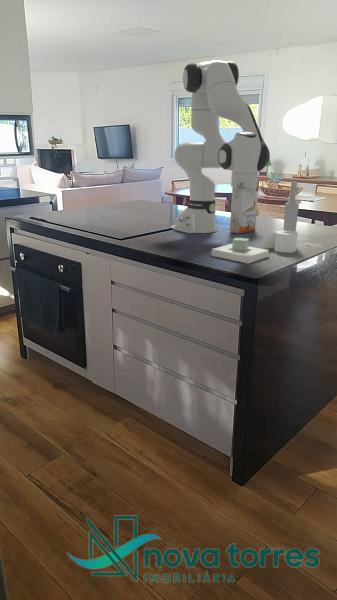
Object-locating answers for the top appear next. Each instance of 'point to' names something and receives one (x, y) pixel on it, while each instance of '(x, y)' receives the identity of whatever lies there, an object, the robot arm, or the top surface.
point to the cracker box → (249, 219)
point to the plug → (240, 244)
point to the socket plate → (240, 254)
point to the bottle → (291, 210)
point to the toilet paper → (281, 241)
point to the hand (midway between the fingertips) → (241, 221)
